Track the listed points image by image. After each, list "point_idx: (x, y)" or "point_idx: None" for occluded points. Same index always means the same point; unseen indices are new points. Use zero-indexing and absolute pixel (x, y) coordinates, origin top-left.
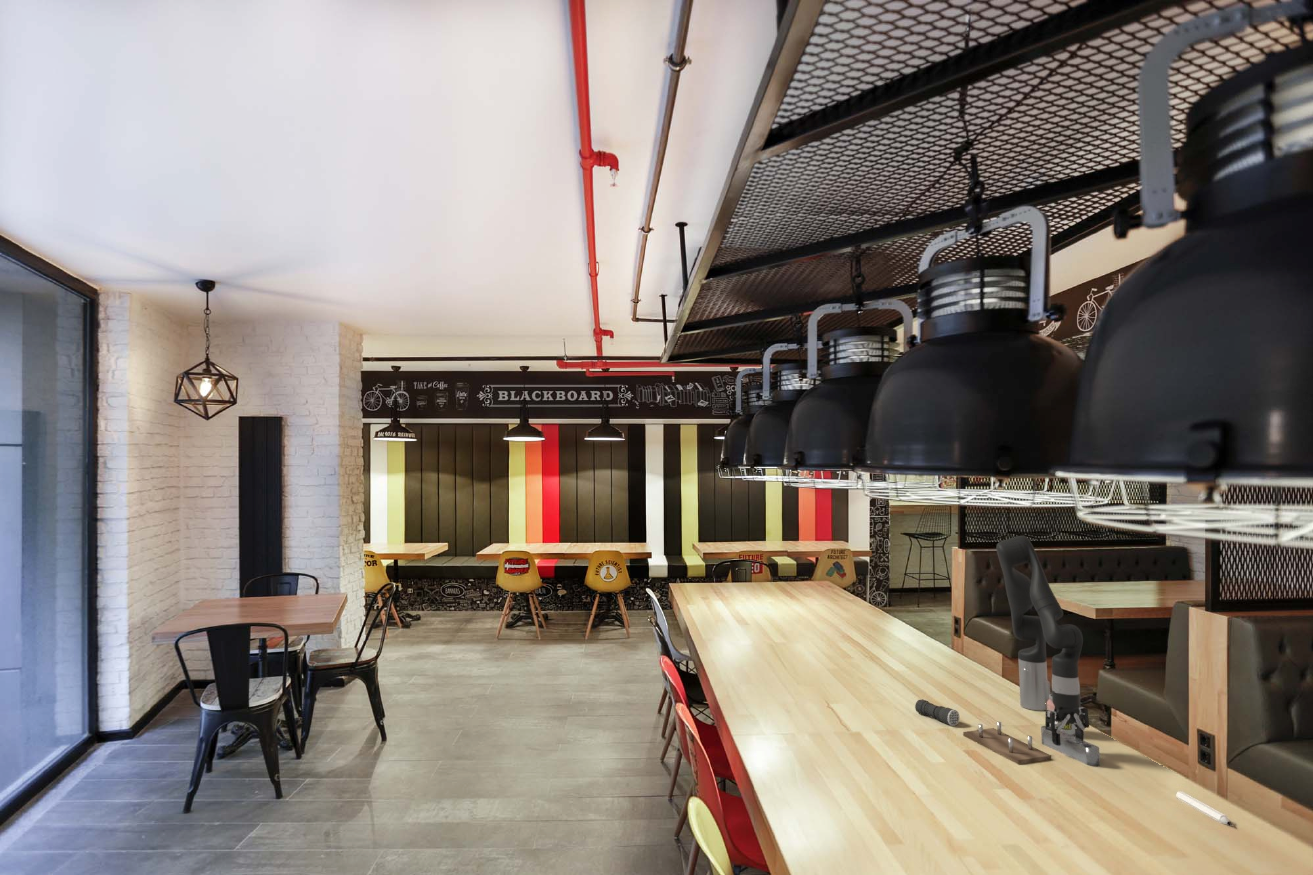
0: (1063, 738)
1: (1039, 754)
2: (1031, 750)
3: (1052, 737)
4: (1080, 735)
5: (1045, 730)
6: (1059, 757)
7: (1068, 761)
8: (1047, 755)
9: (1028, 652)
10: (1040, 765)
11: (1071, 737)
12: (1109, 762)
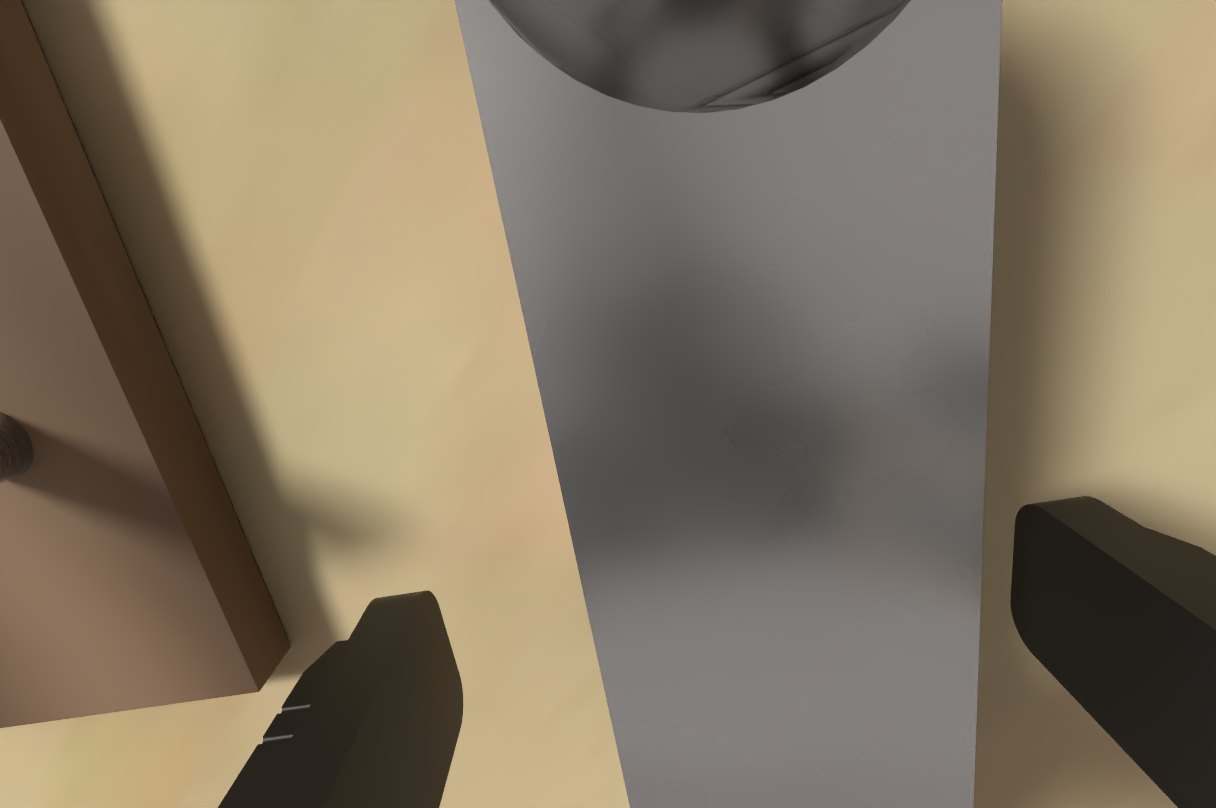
0: (610, 703)
1: (84, 641)
2: (1, 483)
3: (263, 758)
4: (1142, 758)
5: (460, 14)
6: (456, 598)
7: (499, 718)
8: (201, 684)
9: None
10: (57, 773)
11: (836, 731)
12: (1004, 794)
